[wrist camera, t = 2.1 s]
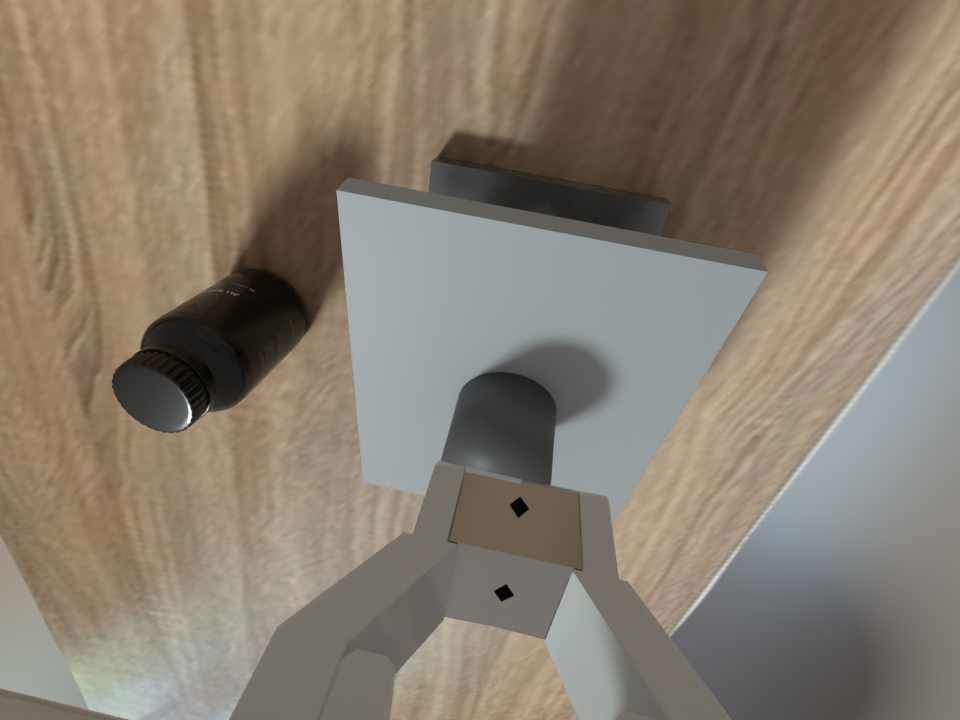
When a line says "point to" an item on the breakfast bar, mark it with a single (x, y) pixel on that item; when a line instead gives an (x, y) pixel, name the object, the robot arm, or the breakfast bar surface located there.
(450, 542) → the robot arm
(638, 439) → the plate
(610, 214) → the stand
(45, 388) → the breakfast bar surface
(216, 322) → the supplement bottle
